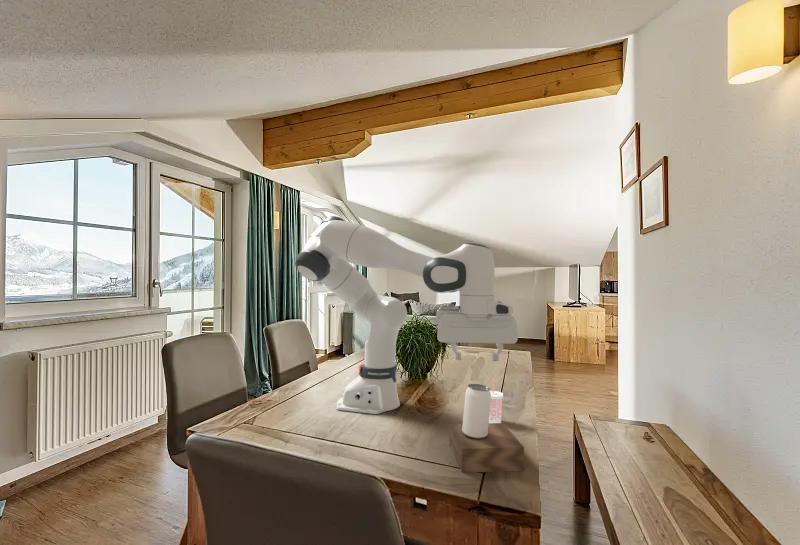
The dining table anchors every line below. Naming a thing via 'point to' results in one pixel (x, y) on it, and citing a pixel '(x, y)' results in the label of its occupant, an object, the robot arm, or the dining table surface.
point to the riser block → (487, 450)
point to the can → (476, 411)
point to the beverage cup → (495, 406)
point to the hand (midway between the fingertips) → (476, 360)
